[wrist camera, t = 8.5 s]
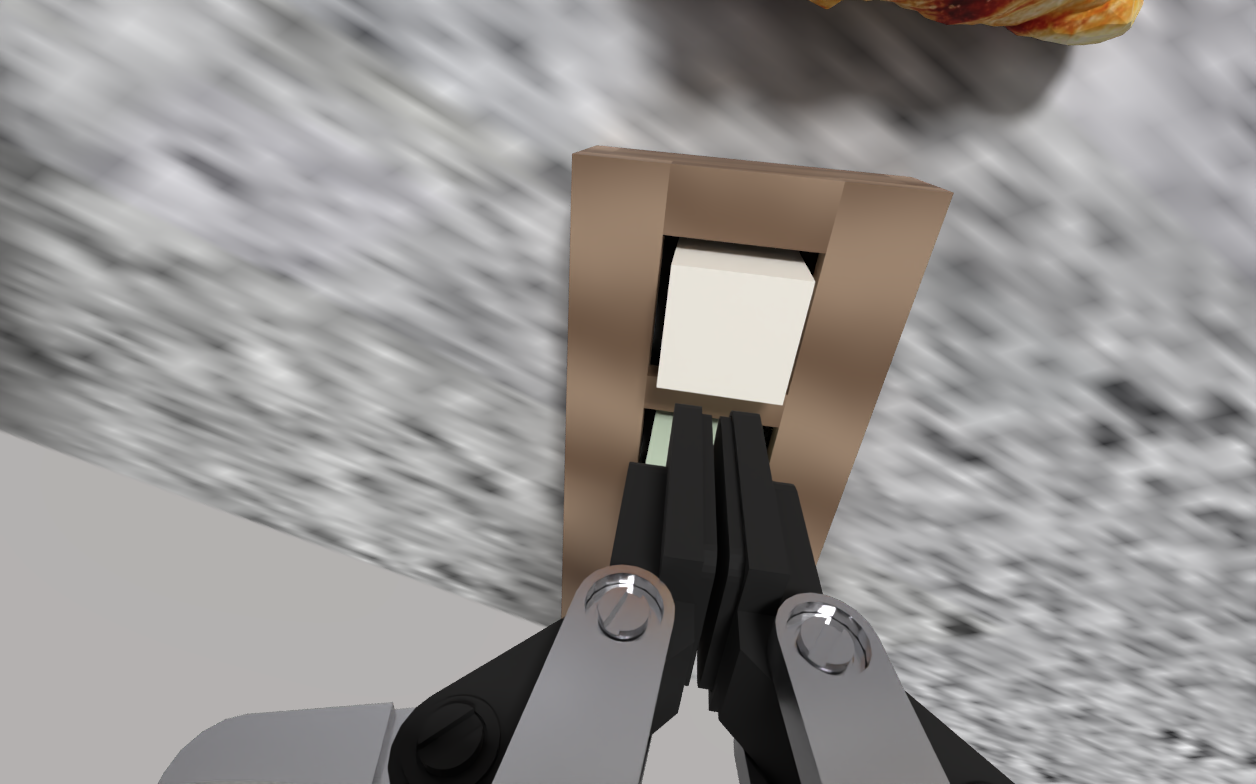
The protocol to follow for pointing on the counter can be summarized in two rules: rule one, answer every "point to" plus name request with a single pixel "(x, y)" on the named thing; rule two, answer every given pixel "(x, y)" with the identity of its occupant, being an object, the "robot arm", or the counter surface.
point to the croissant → (1032, 16)
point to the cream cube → (733, 319)
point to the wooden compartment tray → (830, 341)
